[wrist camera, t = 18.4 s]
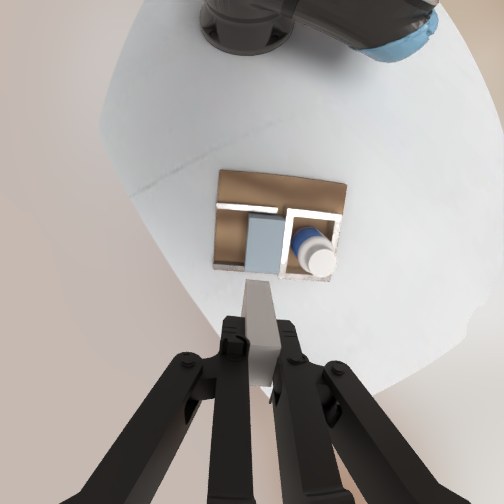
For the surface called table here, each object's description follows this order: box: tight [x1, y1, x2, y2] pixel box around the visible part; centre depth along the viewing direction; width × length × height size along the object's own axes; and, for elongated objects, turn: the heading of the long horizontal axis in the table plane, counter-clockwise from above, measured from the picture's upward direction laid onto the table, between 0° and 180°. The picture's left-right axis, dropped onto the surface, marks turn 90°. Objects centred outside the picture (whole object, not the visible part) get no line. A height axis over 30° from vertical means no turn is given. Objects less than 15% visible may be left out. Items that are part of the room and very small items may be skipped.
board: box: [214, 170, 347, 274], centre depth 43 cm, size 16×20×1 cm
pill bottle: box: [290, 225, 337, 277], centre depth 39 cm, size 6×5×10 cm
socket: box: [277, 205, 342, 282], centre depth 42 cm, size 11×8×3 cm
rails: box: [213, 201, 278, 271], centre depth 42 cm, size 10×9×2 cm
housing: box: [244, 212, 286, 274], centre depth 41 cm, size 8×5×4 cm, turn 175°
